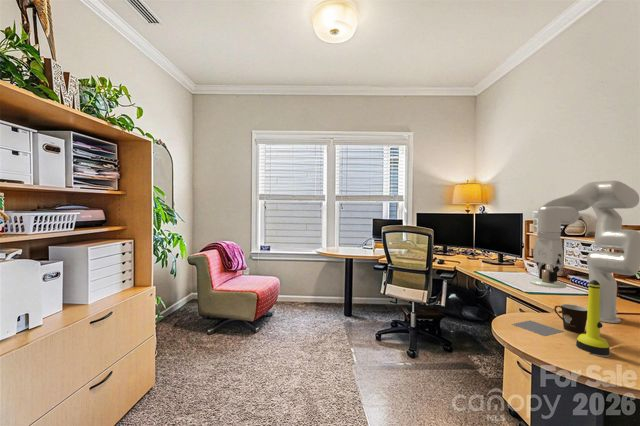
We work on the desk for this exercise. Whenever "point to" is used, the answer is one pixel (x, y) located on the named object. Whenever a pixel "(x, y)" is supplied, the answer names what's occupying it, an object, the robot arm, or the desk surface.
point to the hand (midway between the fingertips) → (548, 279)
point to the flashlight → (593, 325)
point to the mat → (537, 328)
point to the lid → (547, 281)
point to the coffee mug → (573, 317)
